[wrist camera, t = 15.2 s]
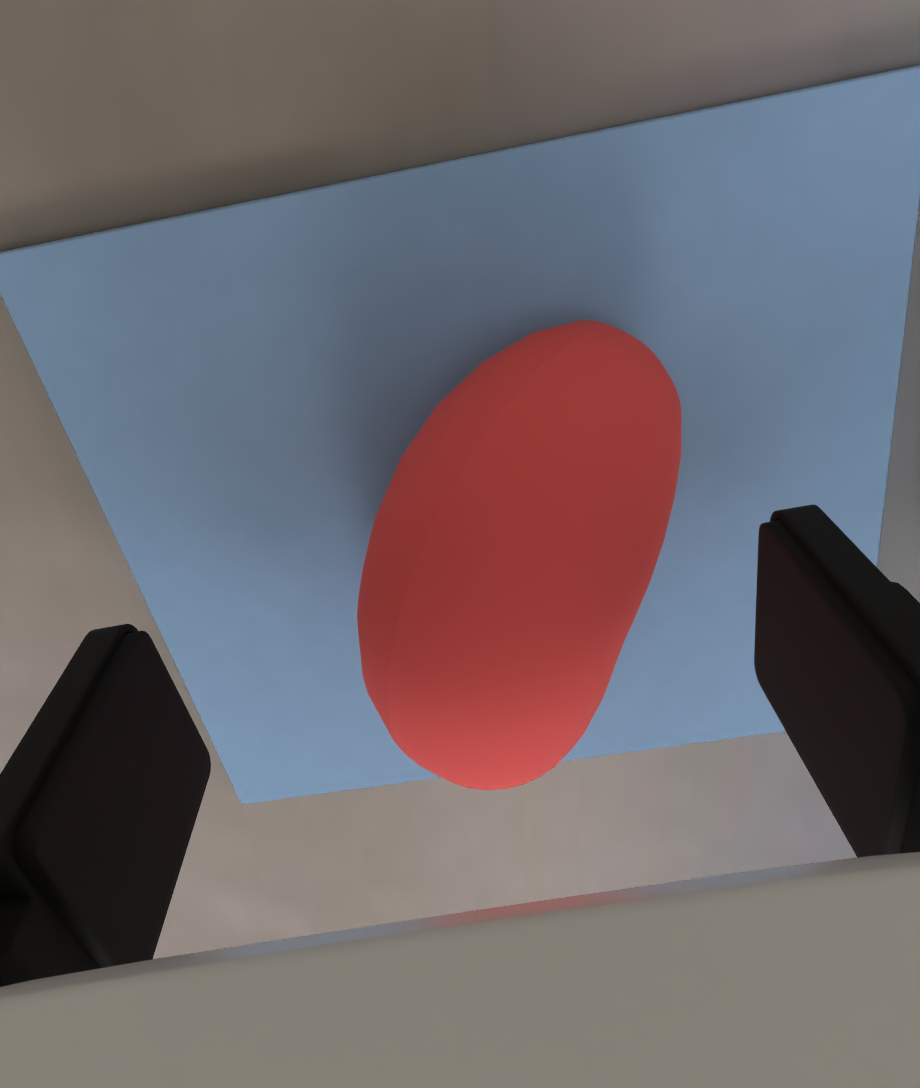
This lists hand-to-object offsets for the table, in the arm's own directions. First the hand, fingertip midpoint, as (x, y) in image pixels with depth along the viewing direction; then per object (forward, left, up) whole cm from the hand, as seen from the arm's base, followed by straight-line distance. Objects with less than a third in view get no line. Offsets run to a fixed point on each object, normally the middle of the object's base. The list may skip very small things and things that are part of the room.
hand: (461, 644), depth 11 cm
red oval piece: (+1, +1, -5) cm, 5 cm away
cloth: (+1, +1, -5) cm, 5 cm away
